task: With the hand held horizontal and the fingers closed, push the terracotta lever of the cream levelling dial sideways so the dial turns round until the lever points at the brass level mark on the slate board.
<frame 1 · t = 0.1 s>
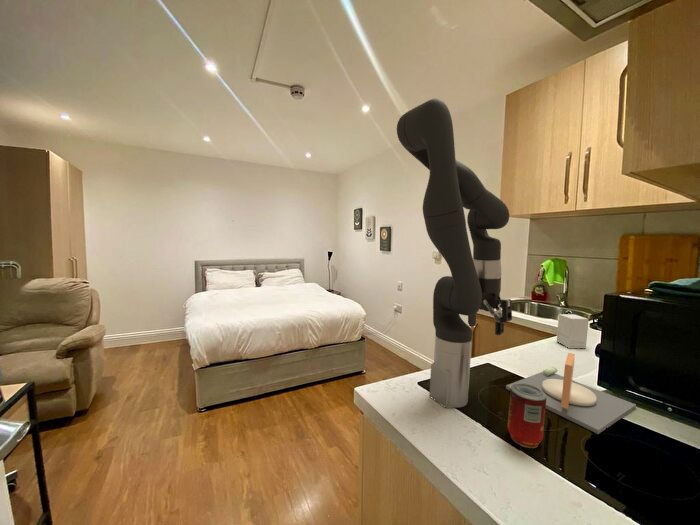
hand: (485, 330, 84), 17 cm above the worktop, fingers open, 8 cm apart
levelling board: (567, 398, 81), on the worktop
dial lever: (569, 376, 78), point 7 cm above the worktop, hinge at 0.0°
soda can: (523, 440, 64), on the worktop
supplement box: (570, 346, 122), on the worktop
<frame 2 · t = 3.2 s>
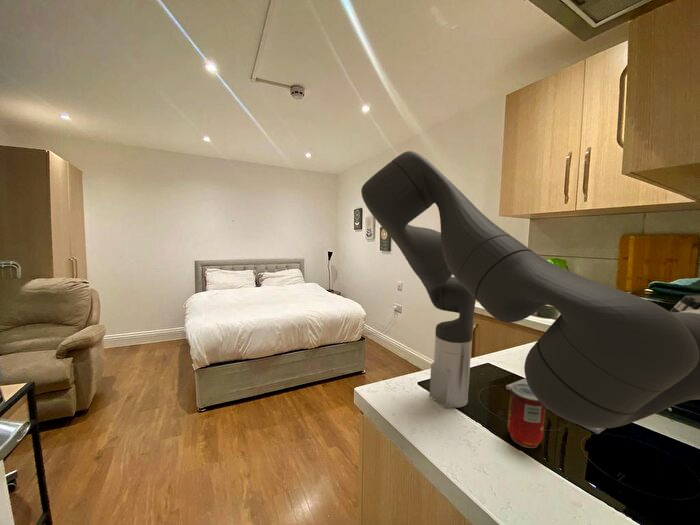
nothing on the worktop moved.
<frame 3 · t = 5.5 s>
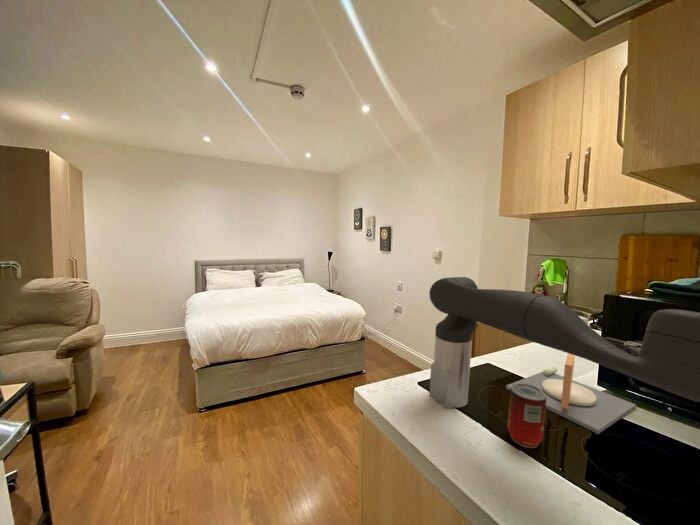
hand: (603, 341, 67), 21 cm above the worktop, fingers closed
nothing on the worktop moved.
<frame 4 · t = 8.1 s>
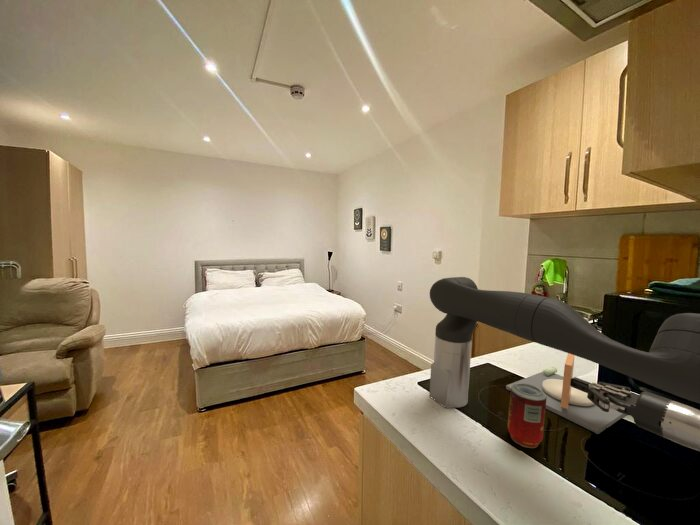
hand: (571, 381, 73), 8 cm above the worktop, fingers closed
dial lever: (569, 376, 78), point 7 cm above the worktop, hinge at -0.3°, touching gripper
everything else where it was.
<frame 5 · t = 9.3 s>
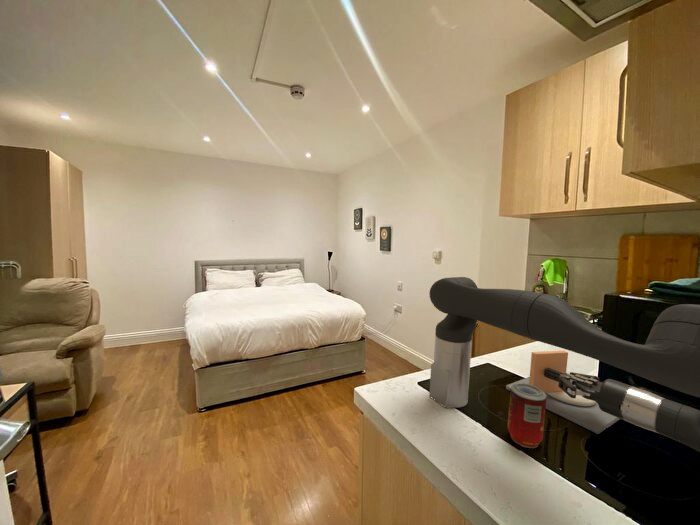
hand: (545, 371, 78), 8 cm above the worktop, fingers closed
dial lever: (560, 373, 80), point 7 cm above the worktop, hinge at -39.7°, touching gripper
everything else where it was.
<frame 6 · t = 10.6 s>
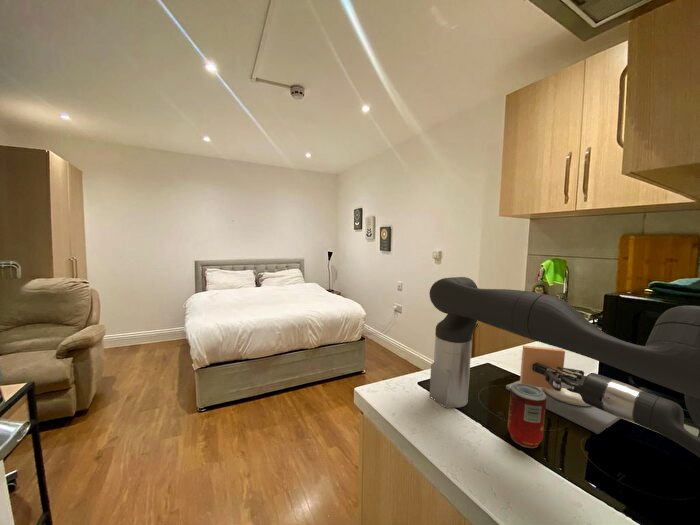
hand: (534, 366, 81), 8 cm above the worktop, fingers closed
dial lever: (557, 371, 81), point 7 cm above the worktop, hinge at -62.0°, touching gripper
everything else where it was.
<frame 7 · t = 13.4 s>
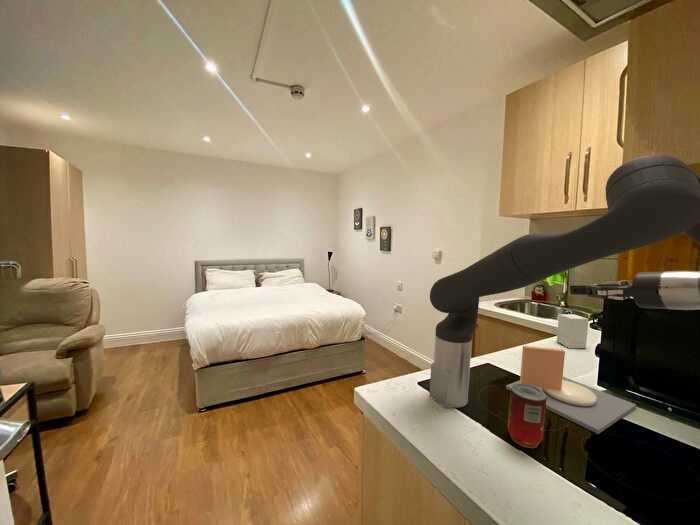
hand: (571, 289, 73), 31 cm above the worktop, fingers closed
dial lever: (557, 371, 81), point 7 cm above the worktop, hinge at -62.1°
everything else where it was.
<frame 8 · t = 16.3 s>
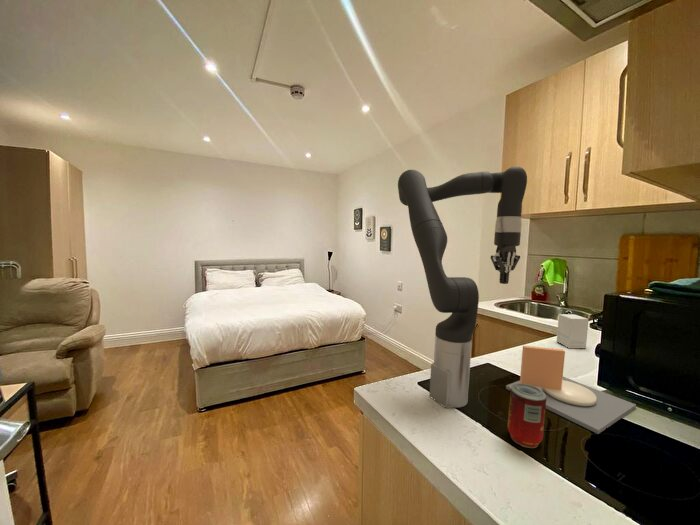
hand: (503, 283, 96), 29 cm above the worktop, fingers closed
nothing on the worktop moved.
at the end: dial lever at -62° (first picture: +0°) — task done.
